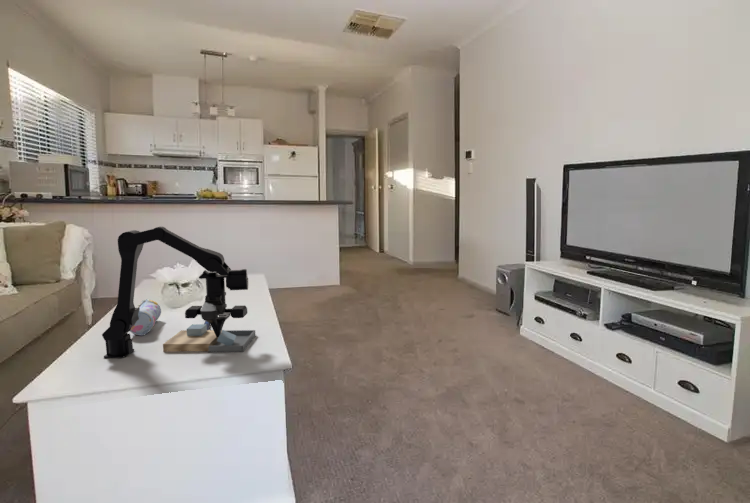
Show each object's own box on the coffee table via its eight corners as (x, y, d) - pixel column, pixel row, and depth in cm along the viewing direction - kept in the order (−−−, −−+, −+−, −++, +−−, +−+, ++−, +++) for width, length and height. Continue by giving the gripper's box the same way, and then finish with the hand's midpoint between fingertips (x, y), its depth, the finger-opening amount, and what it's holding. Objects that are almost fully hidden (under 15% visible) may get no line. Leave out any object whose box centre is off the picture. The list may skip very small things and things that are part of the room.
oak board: (163, 351, 141) (162, 344, 140) (181, 337, 155) (181, 330, 154) (209, 351, 141) (209, 343, 141) (223, 336, 155) (223, 330, 155)
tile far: (186, 335, 148) (186, 328, 148) (192, 331, 153) (192, 324, 153) (201, 335, 148) (201, 328, 148) (206, 331, 153) (206, 324, 153)
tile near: (216, 340, 142) (220, 334, 142) (219, 336, 147) (222, 329, 147) (230, 347, 143) (234, 340, 143) (233, 341, 148) (236, 335, 148)
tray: (208, 352, 140) (207, 346, 140) (224, 335, 156) (223, 330, 156) (243, 351, 140) (242, 345, 140) (255, 335, 156) (255, 330, 156)
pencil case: (138, 321, 174) (136, 298, 172) (162, 319, 176) (160, 297, 175) (126, 338, 154) (124, 312, 153) (154, 335, 157) (152, 310, 155)
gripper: (176, 297, 134) (179, 345, 136) (237, 296, 134) (239, 345, 136) (190, 289, 145) (193, 334, 147) (246, 288, 145) (248, 333, 147)
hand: (218, 336), depth 144 cm, fingers closed
